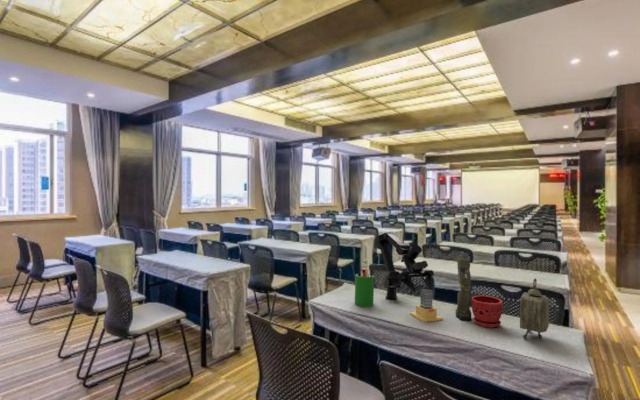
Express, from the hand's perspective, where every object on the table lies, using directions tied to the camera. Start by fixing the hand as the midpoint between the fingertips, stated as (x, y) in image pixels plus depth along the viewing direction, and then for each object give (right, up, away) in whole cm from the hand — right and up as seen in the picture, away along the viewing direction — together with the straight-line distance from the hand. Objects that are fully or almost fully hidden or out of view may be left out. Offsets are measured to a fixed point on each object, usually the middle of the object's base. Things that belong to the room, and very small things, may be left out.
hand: (422, 290), depth 171 cm
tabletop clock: (+40, -14, -25) cm, 49 cm away
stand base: (+1, -12, -3) cm, 13 cm away
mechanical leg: (+20, -13, -1) cm, 24 cm away
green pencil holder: (-28, -12, +16) cm, 34 cm away
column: (+1, -11, -3) cm, 12 cm away
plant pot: (+27, -13, -11) cm, 32 cm away
